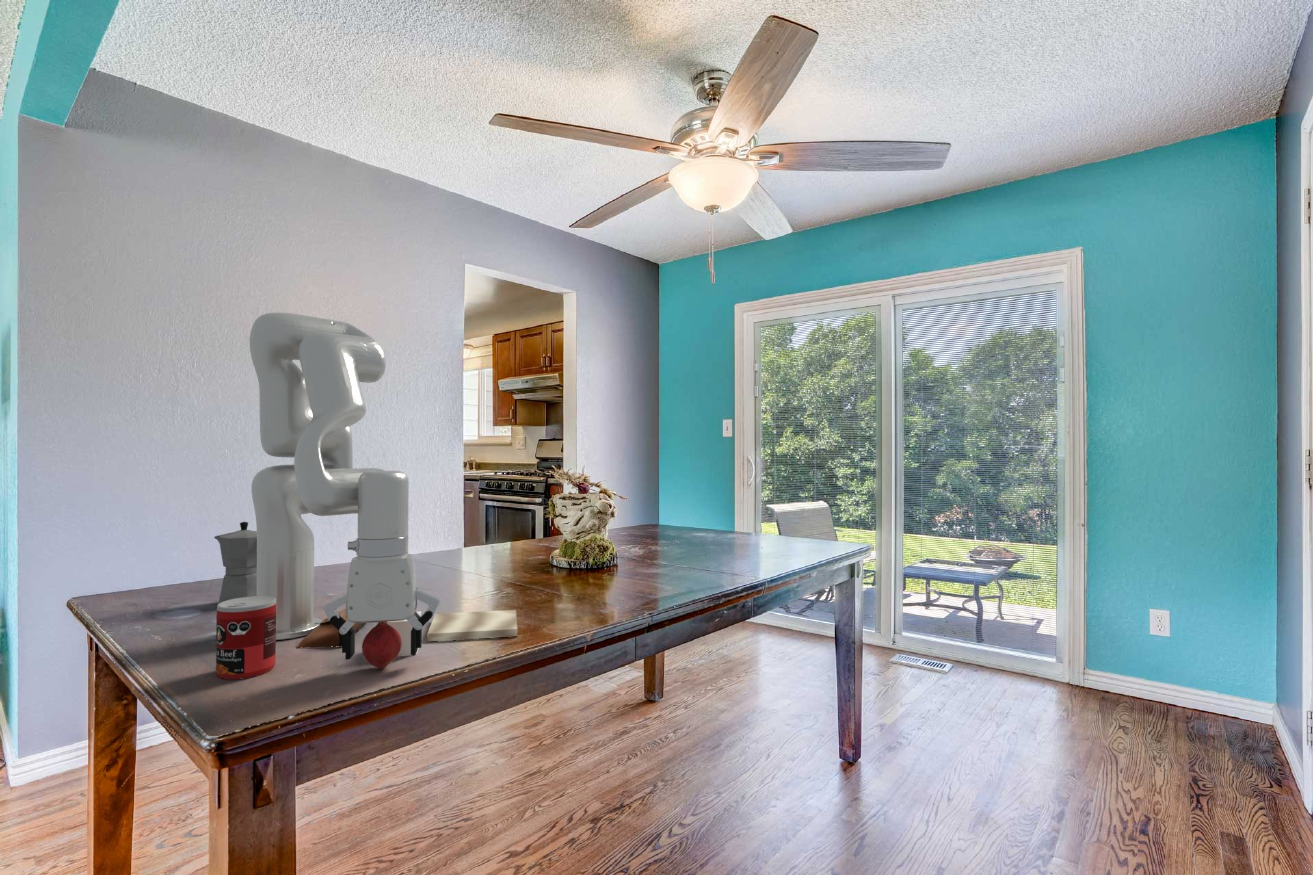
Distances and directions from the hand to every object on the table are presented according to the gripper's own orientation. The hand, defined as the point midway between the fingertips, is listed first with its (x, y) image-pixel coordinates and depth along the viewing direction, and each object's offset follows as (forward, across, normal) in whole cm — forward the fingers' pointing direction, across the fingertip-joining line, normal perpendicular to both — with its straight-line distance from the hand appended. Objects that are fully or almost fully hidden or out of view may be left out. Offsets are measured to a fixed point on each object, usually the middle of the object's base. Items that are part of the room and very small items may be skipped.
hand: (382, 654), depth 105 cm
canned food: (+2, -21, +3) cm, 21 cm away
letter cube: (+2, +1, +9) cm, 10 cm away
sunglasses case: (+3, -12, +22) cm, 25 cm away
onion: (+2, 0, 0) cm, 3 cm away
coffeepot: (+2, -37, +50) cm, 62 cm away
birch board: (+2, +13, +20) cm, 24 cm away
